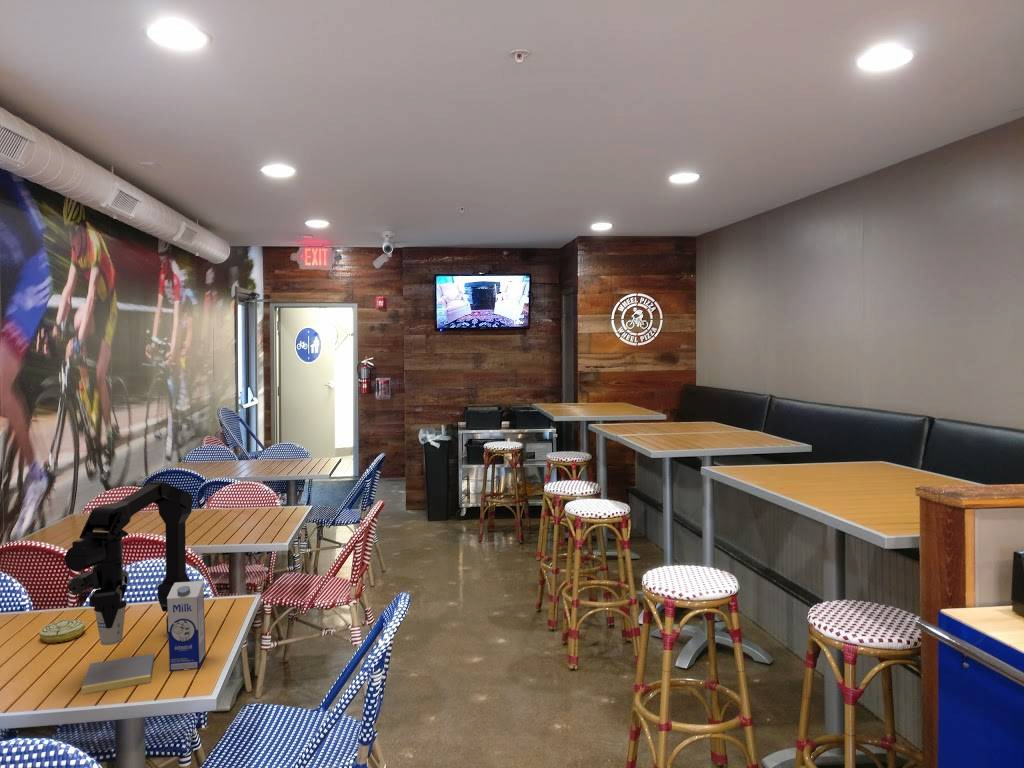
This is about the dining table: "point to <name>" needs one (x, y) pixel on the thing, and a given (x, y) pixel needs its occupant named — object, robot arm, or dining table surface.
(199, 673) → the dining table surface
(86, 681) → the dock
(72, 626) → the decorated donut
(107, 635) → the coffee cup
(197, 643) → the milk carton
